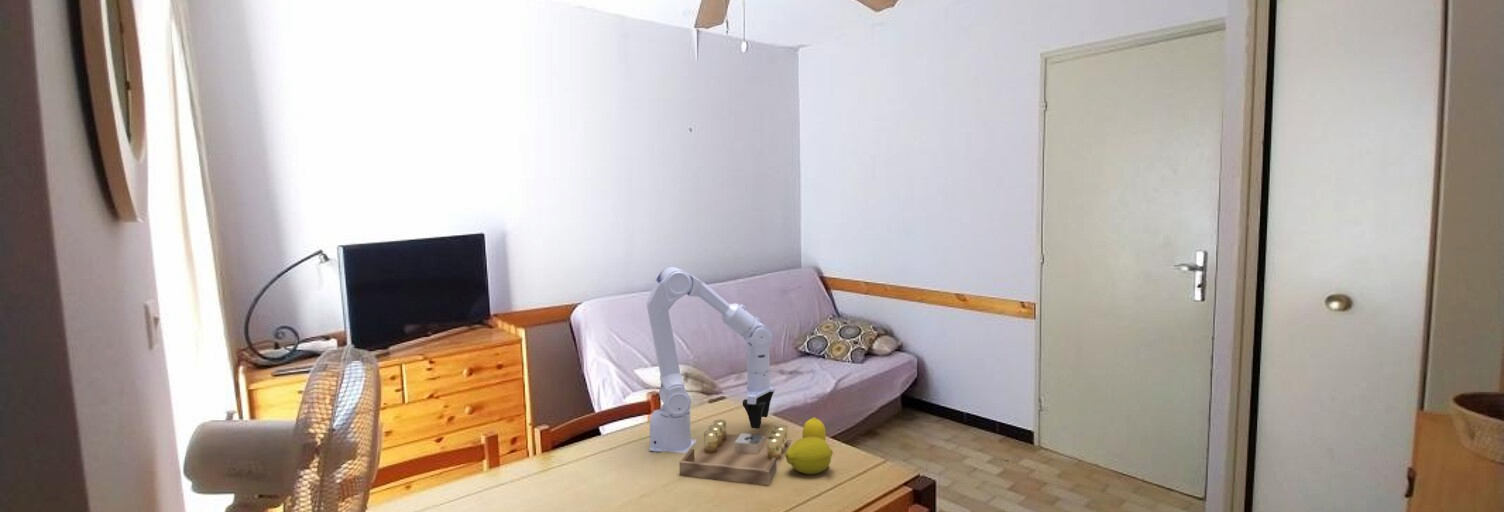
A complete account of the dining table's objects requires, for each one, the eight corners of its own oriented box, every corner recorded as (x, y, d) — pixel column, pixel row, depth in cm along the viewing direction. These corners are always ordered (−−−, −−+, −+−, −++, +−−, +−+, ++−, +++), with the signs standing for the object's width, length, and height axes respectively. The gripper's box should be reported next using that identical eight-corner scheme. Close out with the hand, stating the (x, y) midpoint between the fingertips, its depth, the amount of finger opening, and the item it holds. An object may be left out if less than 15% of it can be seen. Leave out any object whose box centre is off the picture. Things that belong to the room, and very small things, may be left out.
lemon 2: (828, 463, 142) (828, 429, 141) (838, 478, 134) (838, 443, 134) (781, 467, 141) (781, 432, 140) (788, 483, 133) (788, 447, 132)
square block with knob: (734, 452, 147) (734, 442, 147) (741, 442, 153) (741, 433, 152) (757, 454, 146) (757, 444, 146) (763, 444, 151) (763, 435, 151)
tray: (679, 477, 136) (679, 462, 136) (715, 435, 159) (715, 421, 159) (768, 488, 131) (768, 471, 130) (792, 442, 154) (792, 428, 153)
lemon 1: (825, 445, 152) (825, 413, 151) (826, 455, 146) (825, 422, 145) (802, 444, 152) (802, 413, 151) (802, 454, 147) (802, 421, 146)
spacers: (702, 453, 147) (701, 434, 147) (716, 436, 157) (715, 418, 156) (779, 461, 142) (779, 442, 142) (789, 443, 152) (788, 425, 151)
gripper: (766, 379, 149) (768, 434, 150) (780, 362, 162) (781, 413, 164) (738, 378, 150) (739, 432, 152) (754, 361, 164) (755, 411, 166)
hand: (759, 422), depth 158 cm, fingers open, 7 cm apart
